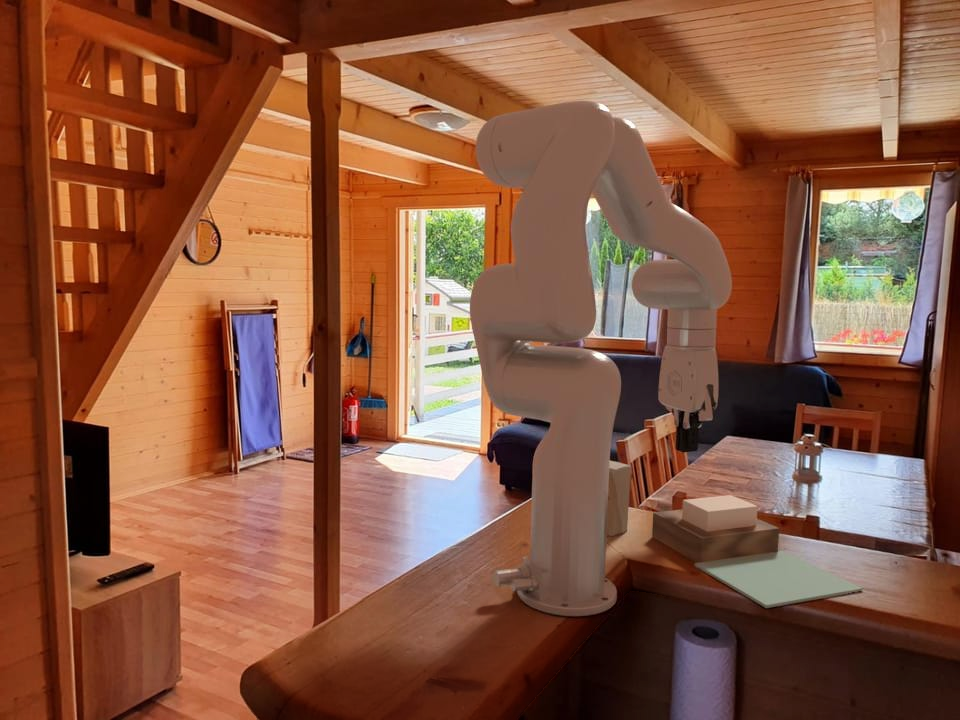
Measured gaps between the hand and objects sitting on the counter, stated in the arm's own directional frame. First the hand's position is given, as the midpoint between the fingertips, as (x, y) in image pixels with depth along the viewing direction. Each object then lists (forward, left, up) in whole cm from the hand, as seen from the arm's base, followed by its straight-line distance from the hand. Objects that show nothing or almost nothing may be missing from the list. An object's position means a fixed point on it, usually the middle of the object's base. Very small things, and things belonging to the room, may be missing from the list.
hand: (686, 450), depth 115 cm
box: (-13, +3, -13) cm, 18 cm away
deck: (-1, -8, -13) cm, 15 cm away
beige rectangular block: (-1, -9, -8) cm, 12 cm away
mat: (-1, -21, -13) cm, 25 cm away
